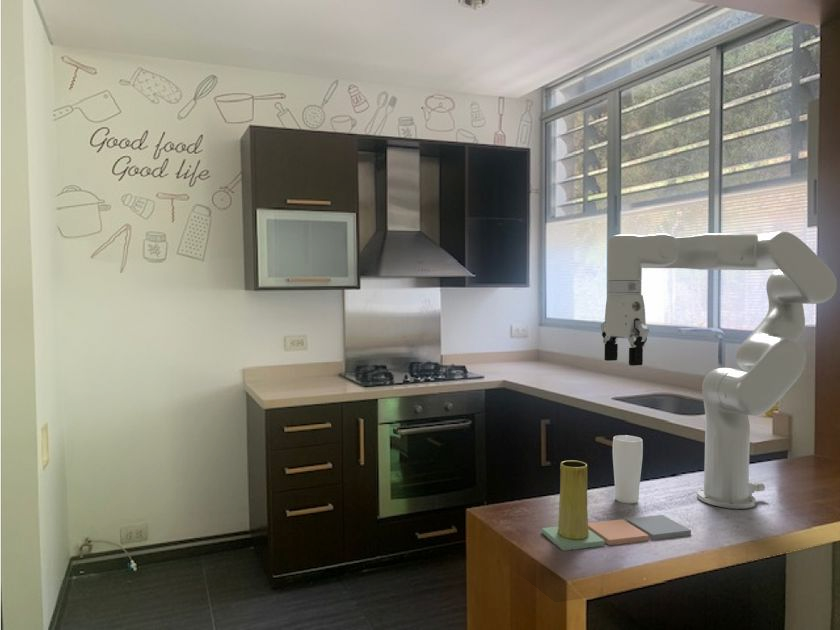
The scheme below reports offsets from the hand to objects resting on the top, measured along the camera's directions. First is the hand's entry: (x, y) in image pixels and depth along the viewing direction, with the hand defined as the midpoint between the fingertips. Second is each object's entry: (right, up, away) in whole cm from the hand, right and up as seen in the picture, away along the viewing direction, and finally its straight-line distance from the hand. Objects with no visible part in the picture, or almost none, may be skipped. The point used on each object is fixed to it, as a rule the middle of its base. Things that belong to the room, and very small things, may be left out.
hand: (622, 362), depth 143 cm
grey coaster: (+3, -34, -13) cm, 37 cm away
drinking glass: (+2, -33, +4) cm, 34 cm away
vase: (-16, -33, -19) cm, 41 cm away
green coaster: (-16, -34, -19) cm, 42 cm away
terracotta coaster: (-7, -34, -16) cm, 38 cm away
